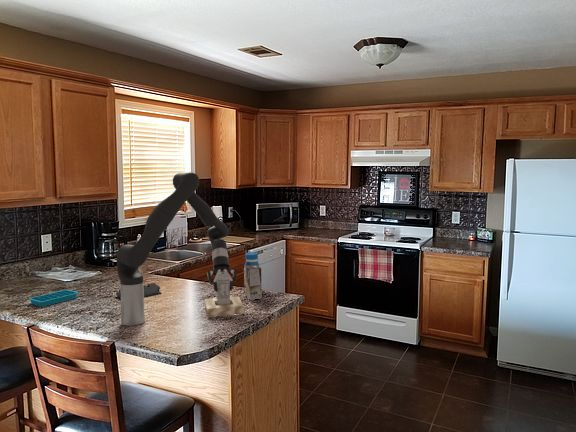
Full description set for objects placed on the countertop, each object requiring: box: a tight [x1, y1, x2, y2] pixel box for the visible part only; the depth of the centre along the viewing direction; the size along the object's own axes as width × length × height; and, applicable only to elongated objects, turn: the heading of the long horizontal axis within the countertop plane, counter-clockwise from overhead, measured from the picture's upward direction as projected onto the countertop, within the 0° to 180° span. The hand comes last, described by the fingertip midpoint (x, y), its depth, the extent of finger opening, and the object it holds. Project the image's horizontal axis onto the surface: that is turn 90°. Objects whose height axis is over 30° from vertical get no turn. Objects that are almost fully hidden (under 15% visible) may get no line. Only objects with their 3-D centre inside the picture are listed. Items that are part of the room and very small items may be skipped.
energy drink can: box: [216, 272, 231, 305], centre depth 206 cm, size 6×6×15 cm
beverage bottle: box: [243, 251, 260, 291], centre depth 243 cm, size 8×8×20 cm
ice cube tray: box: [28, 289, 80, 307], centre depth 225 cm, size 12×20×3 cm, turn 148°
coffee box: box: [244, 265, 263, 301], centre depth 228 cm, size 9×6×16 cm
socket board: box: [204, 296, 245, 318], centre depth 207 cm, size 16×16×4 cm
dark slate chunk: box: [115, 282, 162, 300], centre depth 235 cm, size 15×22×5 cm
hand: (223, 290), depth 204 cm, fingers closed on energy drink can, 6 cm apart
